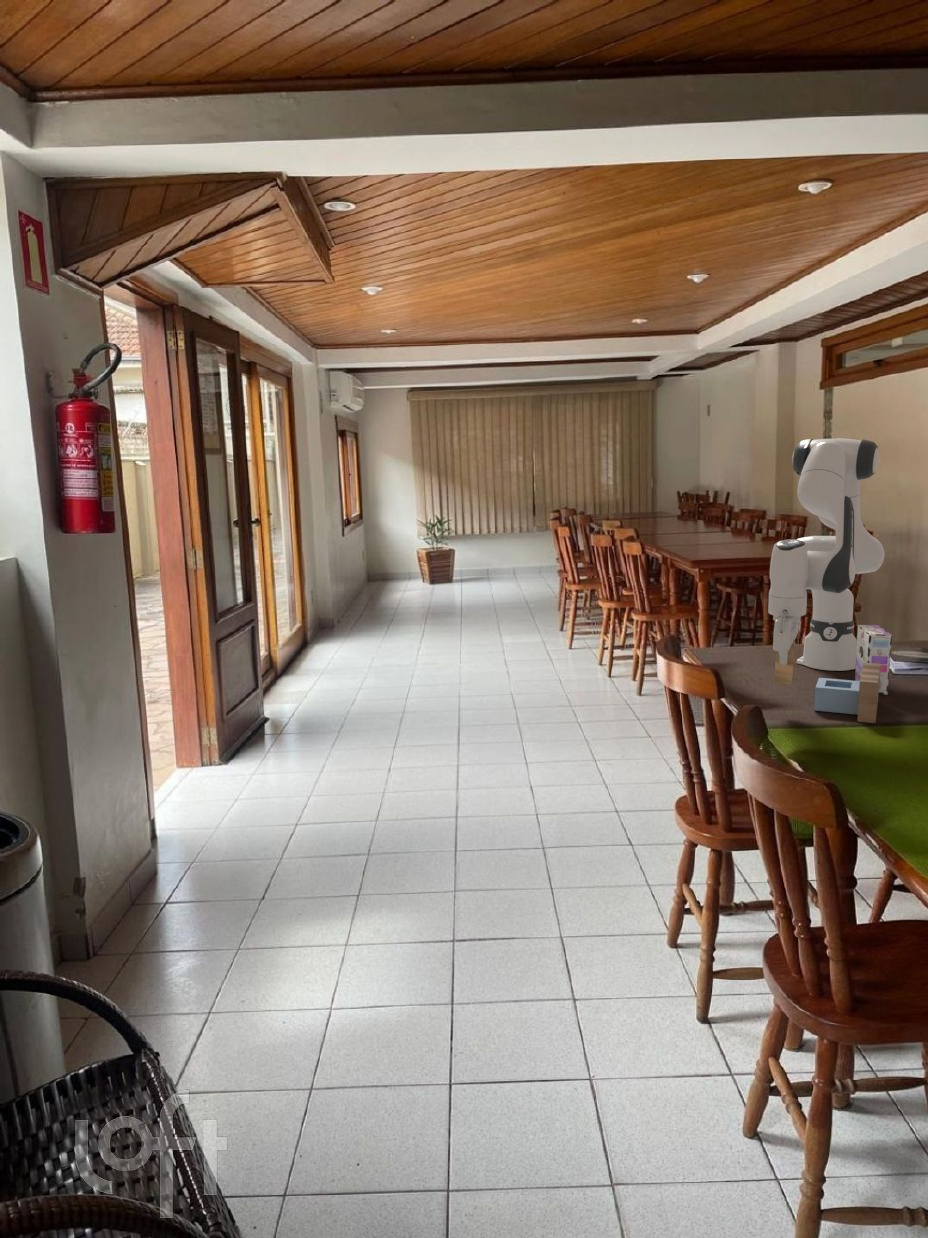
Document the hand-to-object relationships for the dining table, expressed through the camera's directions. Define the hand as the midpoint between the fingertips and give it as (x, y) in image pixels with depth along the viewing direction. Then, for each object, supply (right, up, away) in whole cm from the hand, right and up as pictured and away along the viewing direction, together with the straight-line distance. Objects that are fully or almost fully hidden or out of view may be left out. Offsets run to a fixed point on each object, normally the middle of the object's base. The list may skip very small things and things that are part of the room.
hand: (784, 661), depth 223 cm
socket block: (+15, -12, +5) cm, 20 cm away
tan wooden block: (0, -5, +1) cm, 5 cm away
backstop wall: (+21, -13, +2) cm, 25 cm away
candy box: (+31, -9, +22) cm, 39 cm away
